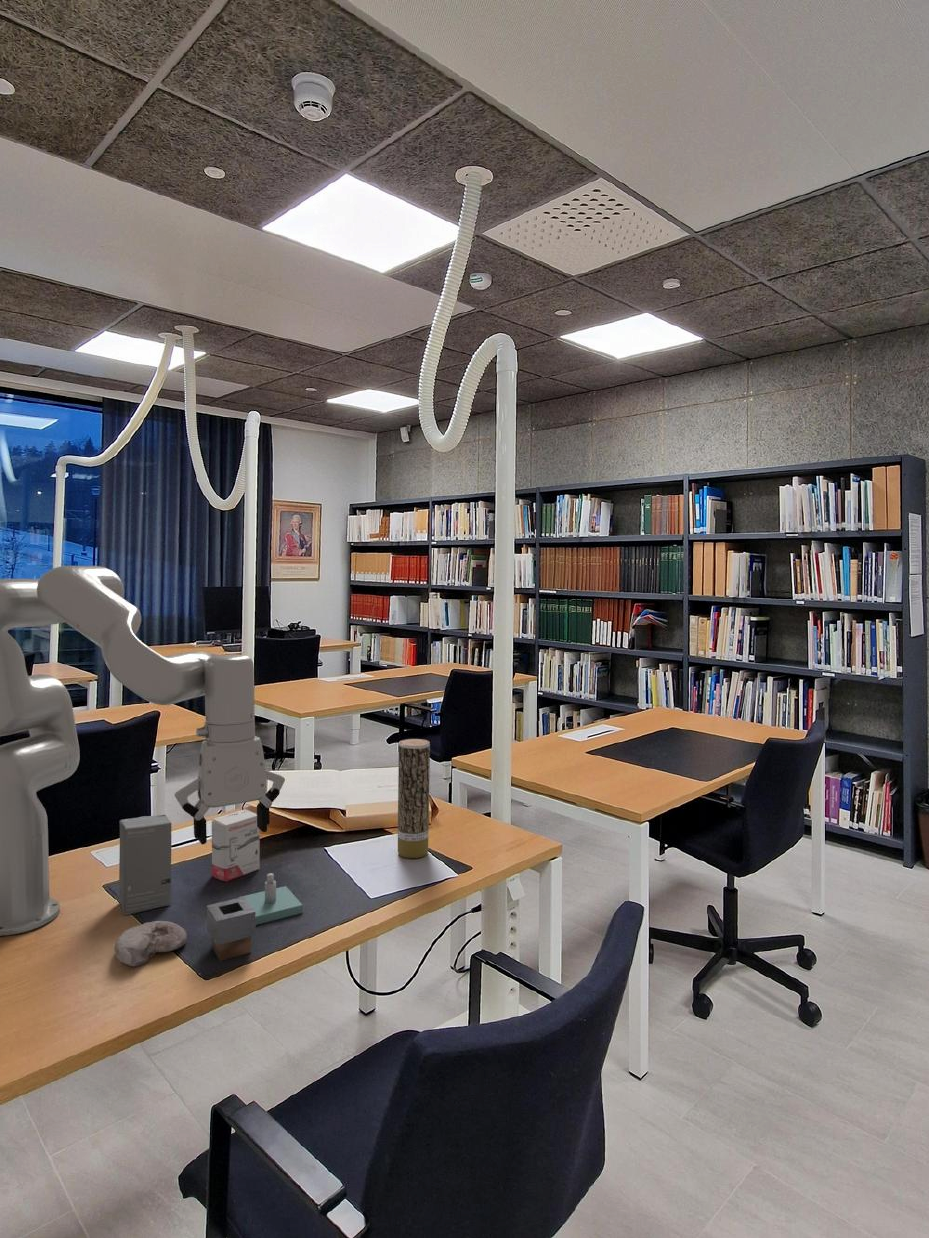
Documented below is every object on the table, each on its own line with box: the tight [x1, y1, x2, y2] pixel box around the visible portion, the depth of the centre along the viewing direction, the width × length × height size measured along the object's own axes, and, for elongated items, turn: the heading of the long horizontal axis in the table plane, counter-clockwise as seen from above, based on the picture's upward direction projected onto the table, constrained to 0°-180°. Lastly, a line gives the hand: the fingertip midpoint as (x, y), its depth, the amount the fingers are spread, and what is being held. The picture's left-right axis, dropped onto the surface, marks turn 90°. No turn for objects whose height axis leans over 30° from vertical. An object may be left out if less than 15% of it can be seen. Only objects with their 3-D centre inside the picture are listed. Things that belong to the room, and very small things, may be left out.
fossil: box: [114, 920, 188, 967], centre depth 118 cm, size 12×4×10 cm
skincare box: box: [118, 814, 172, 916], centre depth 134 cm, size 8×7×16 cm
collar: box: [206, 896, 257, 945], centre depth 118 cm, size 6×6×4 cm
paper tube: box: [397, 738, 431, 859], centre depth 159 cm, size 7×7×25 cm
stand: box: [211, 936, 252, 962], centre depth 118 cm, size 5×5×4 cm
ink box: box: [211, 809, 261, 883], centre depth 148 cm, size 9×5×12 cm, turn 143°
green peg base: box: [238, 872, 304, 926], centre depth 133 cm, size 9×9×6 cm
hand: (232, 835), depth 117 cm, fingers open, 9 cm apart
